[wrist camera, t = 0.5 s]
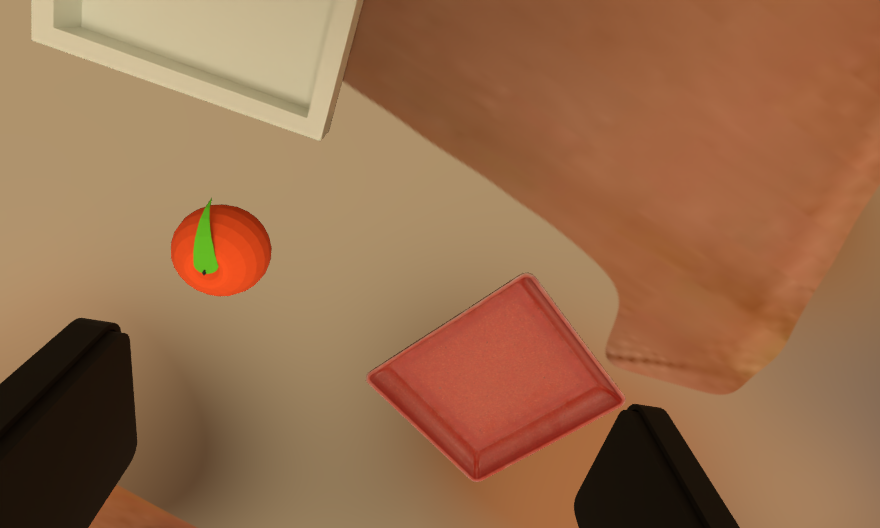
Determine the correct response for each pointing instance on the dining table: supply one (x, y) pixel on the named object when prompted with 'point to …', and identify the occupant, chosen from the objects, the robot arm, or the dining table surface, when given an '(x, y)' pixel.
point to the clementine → (221, 250)
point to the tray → (218, 50)
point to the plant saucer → (498, 380)
